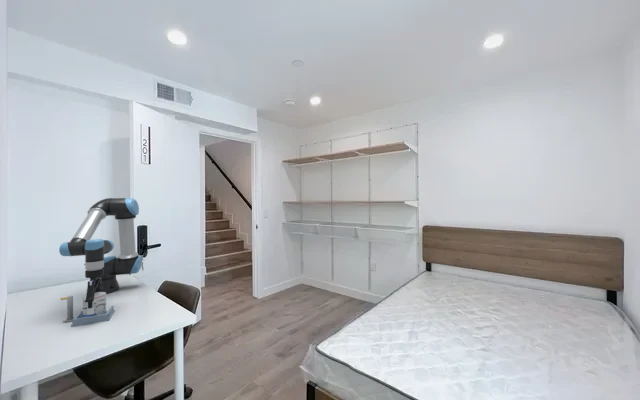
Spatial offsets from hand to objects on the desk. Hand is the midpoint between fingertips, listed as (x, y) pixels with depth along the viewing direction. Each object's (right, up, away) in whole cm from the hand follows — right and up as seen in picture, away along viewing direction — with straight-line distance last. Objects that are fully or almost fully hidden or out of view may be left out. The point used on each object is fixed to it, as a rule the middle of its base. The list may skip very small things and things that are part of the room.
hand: (94, 309), depth 140 cm
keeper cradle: (-3, -5, -2) cm, 6 cm away
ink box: (0, -4, 0) cm, 4 cm away
